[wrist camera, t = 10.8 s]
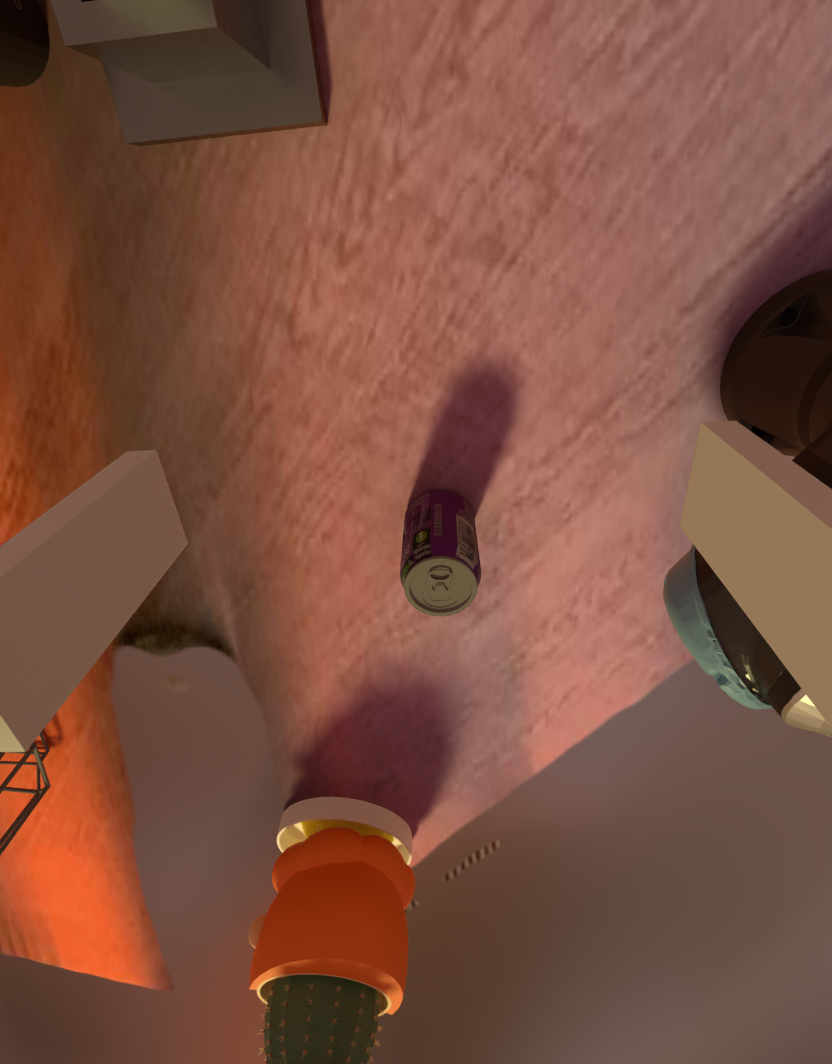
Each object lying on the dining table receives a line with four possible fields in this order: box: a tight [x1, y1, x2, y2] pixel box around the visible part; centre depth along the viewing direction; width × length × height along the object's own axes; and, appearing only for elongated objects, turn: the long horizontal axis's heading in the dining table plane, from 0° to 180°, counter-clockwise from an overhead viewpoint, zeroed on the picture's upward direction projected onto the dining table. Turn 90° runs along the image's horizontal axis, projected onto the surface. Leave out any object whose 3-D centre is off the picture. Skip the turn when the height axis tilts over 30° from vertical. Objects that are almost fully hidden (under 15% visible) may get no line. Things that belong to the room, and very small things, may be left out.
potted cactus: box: [249, 797, 415, 1064], centre depth 70 cm, size 22×22×35 cm
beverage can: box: [400, 490, 481, 616], centre depth 50 cm, size 7×7×12 cm
